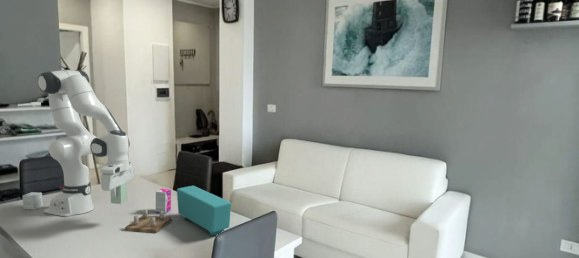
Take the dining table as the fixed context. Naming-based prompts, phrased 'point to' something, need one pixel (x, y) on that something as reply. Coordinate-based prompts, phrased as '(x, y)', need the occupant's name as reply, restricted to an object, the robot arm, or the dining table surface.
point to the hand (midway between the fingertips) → (118, 194)
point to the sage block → (120, 194)
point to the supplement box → (163, 200)
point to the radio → (204, 209)
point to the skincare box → (32, 200)
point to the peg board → (148, 222)
